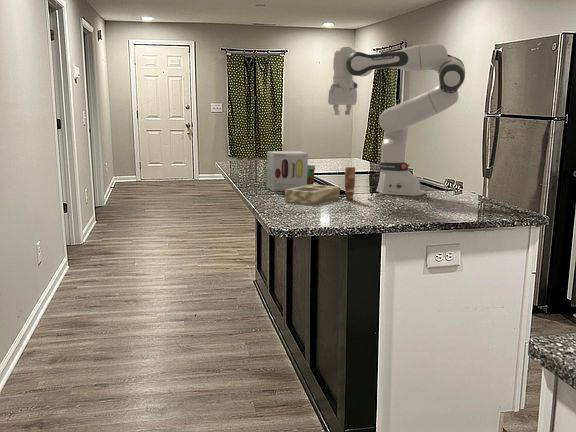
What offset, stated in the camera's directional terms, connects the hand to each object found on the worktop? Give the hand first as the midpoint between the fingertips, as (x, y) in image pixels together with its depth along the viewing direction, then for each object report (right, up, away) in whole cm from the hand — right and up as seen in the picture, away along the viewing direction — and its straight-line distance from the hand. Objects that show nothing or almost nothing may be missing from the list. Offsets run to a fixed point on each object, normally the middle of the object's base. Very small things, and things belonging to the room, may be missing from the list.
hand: (342, 115), depth 270 cm
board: (-14, -40, -17) cm, 45 cm away
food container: (-17, -30, +34) cm, 49 cm away
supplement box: (-26, -34, +14) cm, 45 cm away
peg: (+1, -40, -17) cm, 43 cm away
